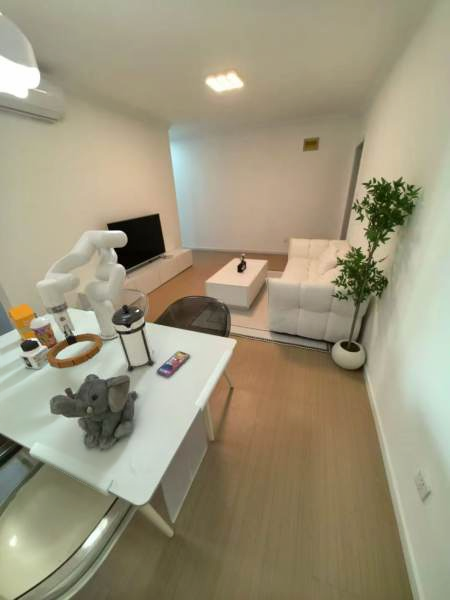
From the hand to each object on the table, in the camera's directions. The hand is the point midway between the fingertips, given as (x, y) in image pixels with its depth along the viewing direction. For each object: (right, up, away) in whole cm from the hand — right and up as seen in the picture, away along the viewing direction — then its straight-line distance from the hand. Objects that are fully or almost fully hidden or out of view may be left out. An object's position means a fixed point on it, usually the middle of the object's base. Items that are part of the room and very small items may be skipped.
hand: (72, 342), depth 106 cm
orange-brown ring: (+6, -3, -6) cm, 9 cm away
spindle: (+12, -20, -17) cm, 28 cm away
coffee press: (+30, -9, +3) cm, 32 cm away
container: (-19, -11, +5) cm, 23 cm away
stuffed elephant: (+32, -24, -27) cm, 48 cm away
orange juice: (-41, -2, +27) cm, 49 cm away
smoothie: (-24, -5, +18) cm, 31 cm away
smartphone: (+48, -10, -1) cm, 49 cm away
